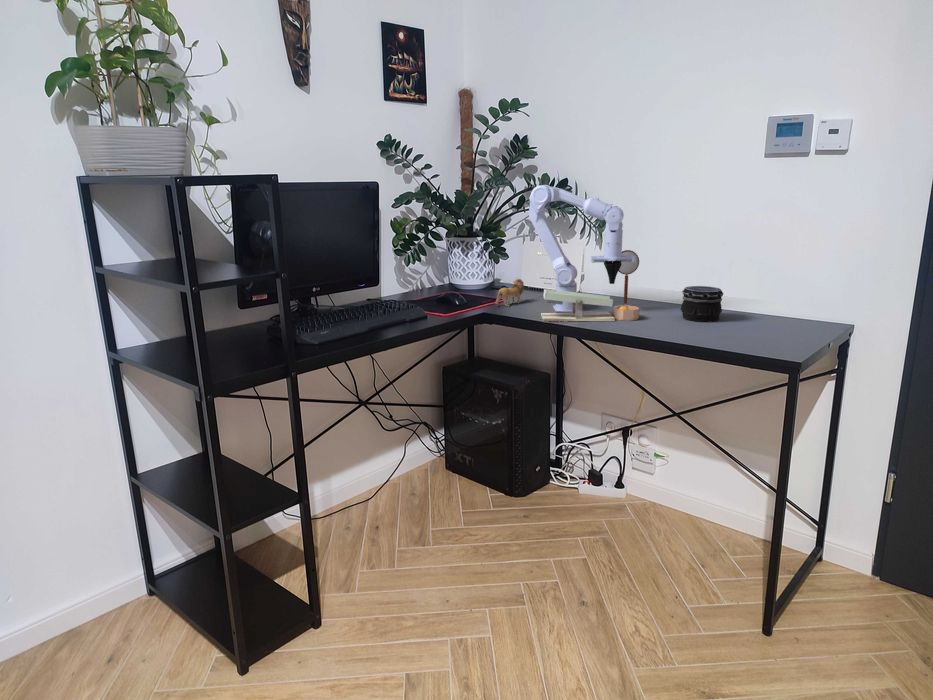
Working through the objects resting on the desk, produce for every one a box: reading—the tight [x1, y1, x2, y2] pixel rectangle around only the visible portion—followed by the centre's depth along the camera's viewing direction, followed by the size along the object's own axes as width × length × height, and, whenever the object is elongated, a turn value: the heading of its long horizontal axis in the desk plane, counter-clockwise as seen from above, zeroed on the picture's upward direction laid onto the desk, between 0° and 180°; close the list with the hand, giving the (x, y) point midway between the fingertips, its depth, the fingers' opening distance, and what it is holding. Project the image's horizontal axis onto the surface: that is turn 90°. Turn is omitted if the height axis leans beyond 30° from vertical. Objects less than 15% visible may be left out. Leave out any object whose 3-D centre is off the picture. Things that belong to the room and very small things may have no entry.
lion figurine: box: [495, 278, 525, 307], centre depth 243 cm, size 15×5×9 cm, turn 139°
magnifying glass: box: [618, 249, 640, 305], centre depth 236 cm, size 9×2×20 cm, turn 93°
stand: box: [540, 300, 616, 323], centre depth 218 cm, size 11×23×7 cm, turn 88°
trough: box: [542, 288, 614, 308], centre depth 221 cm, size 12×23×4 cm, turn 88°
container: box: [680, 285, 724, 323], centre depth 215 cm, size 13×13×10 cm
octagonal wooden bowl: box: [612, 304, 640, 322], centre depth 218 cm, size 8×8×4 cm
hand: (611, 283), depth 226 cm, fingers closed
